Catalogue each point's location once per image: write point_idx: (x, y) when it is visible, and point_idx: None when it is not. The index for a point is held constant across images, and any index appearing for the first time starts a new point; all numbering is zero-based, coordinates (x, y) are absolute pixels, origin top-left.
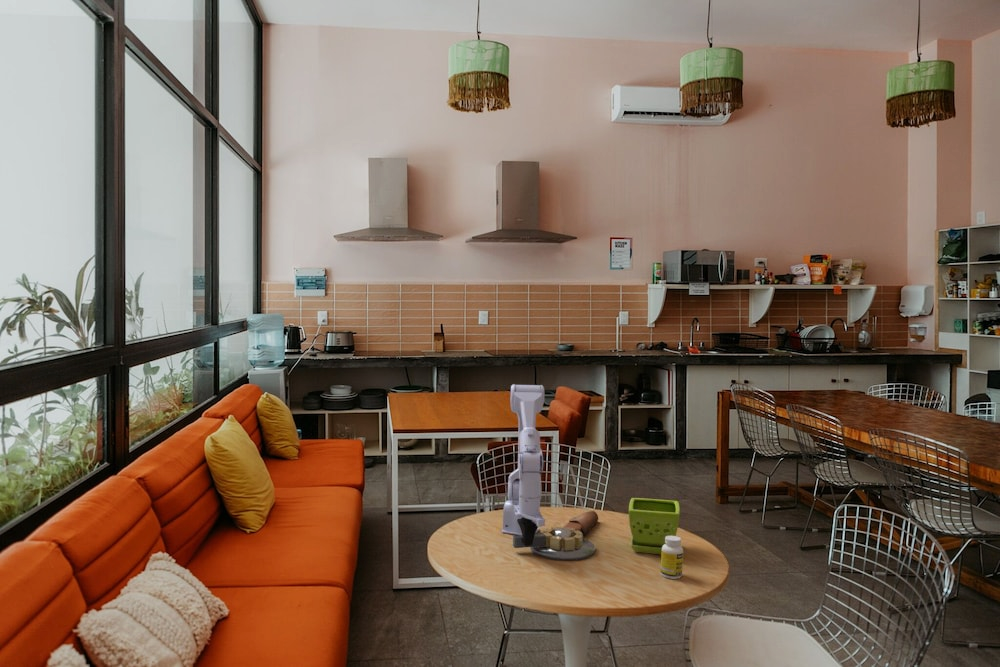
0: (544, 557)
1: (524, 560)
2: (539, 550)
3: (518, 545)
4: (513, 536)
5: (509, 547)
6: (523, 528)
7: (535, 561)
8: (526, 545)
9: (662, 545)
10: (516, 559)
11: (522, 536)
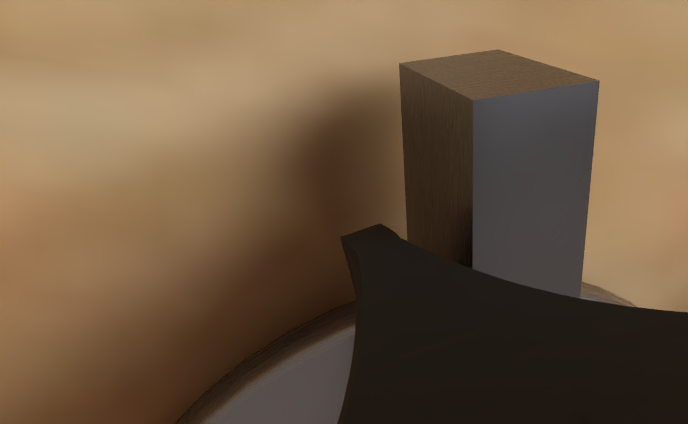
0: (202, 395)
1: (103, 145)
2: (313, 381)
3: (416, 132)
4: (580, 82)
5: (612, 24)
6: (393, 412)
7: (67, 285)
8: (345, 255)
9: None
10: (146, 31)
11: (527, 252)
